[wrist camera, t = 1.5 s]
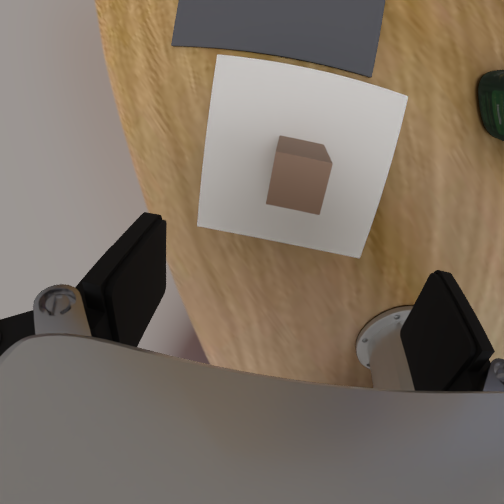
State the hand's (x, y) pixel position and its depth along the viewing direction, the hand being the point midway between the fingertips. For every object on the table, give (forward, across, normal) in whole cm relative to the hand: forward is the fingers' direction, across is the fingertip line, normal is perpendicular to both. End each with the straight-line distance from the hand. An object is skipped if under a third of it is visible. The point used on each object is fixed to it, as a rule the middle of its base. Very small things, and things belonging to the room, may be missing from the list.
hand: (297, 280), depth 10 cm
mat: (+22, +4, -18) cm, 29 cm away
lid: (+17, 0, 0) cm, 17 cm away
